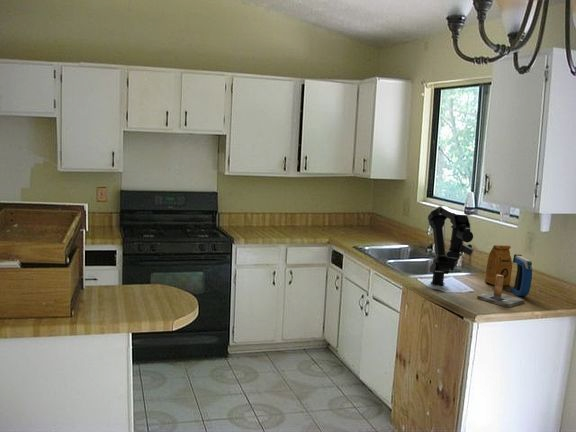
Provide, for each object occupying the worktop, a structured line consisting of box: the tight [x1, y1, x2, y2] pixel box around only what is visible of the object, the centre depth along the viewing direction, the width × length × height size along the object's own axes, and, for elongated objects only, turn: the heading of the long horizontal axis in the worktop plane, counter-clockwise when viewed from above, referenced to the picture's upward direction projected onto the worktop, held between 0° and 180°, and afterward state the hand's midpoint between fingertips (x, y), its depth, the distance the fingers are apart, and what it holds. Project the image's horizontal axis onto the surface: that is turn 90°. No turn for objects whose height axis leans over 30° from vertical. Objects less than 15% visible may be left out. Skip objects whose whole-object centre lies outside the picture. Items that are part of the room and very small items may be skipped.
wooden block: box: [493, 275, 504, 301], centre depth 286 cm, size 4×4×13 cm
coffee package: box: [484, 244, 513, 286], centre depth 322 cm, size 10×12×22 cm
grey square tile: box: [476, 291, 525, 308], centre depth 290 cm, size 16×16×2 cm
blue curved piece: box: [509, 253, 533, 297], centre depth 303 cm, size 5×16×20 cm, turn 2°
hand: (453, 268), depth 296 cm, fingers open, 9 cm apart
